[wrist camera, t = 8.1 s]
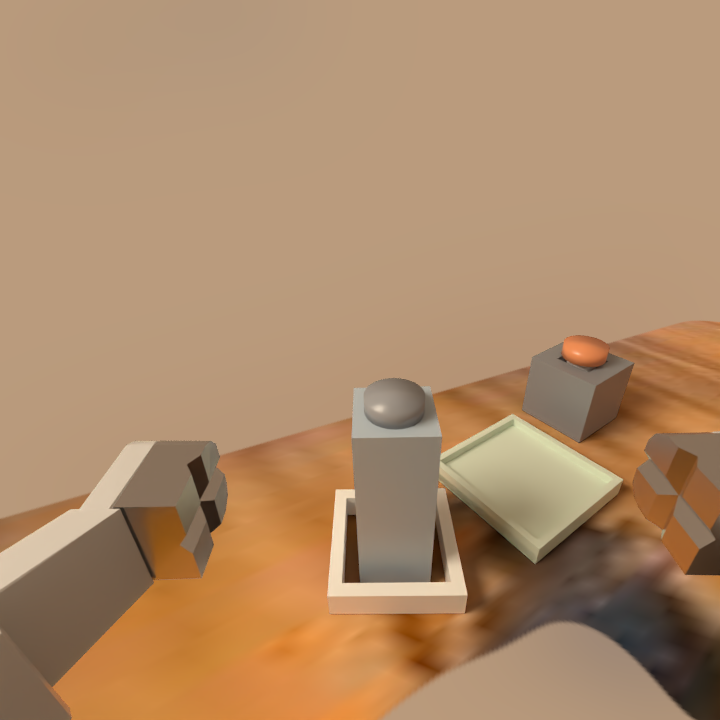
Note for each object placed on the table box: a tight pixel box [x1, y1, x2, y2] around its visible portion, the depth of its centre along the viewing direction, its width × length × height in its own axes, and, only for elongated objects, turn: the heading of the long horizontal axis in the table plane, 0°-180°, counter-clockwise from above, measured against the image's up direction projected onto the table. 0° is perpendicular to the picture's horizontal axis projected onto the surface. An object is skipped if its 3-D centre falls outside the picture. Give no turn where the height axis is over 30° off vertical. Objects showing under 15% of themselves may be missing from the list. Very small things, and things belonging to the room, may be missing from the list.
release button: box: [561, 335, 610, 372], centre depth 38 cm, size 4×4×6 cm
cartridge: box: [352, 378, 442, 583], centre depth 25 cm, size 4×4×13 cm
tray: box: [439, 414, 623, 564], centre depth 33 cm, size 10×10×2 cm
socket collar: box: [327, 488, 468, 614], centre depth 28 cm, size 8×8×2 cm
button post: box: [522, 342, 634, 443], centre depth 39 cm, size 6×6×6 cm
